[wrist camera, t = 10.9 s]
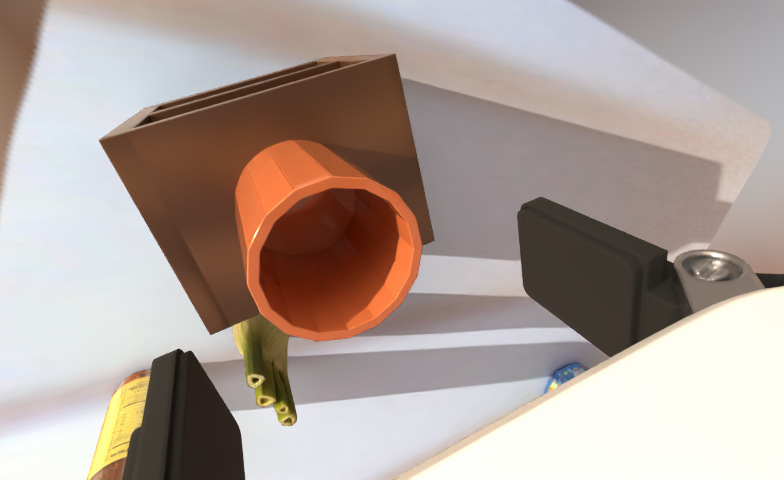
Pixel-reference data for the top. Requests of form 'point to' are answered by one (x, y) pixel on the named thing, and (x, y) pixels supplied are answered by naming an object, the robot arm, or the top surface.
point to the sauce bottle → (119, 427)
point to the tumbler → (323, 241)
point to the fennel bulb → (266, 365)
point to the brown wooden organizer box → (240, 145)
